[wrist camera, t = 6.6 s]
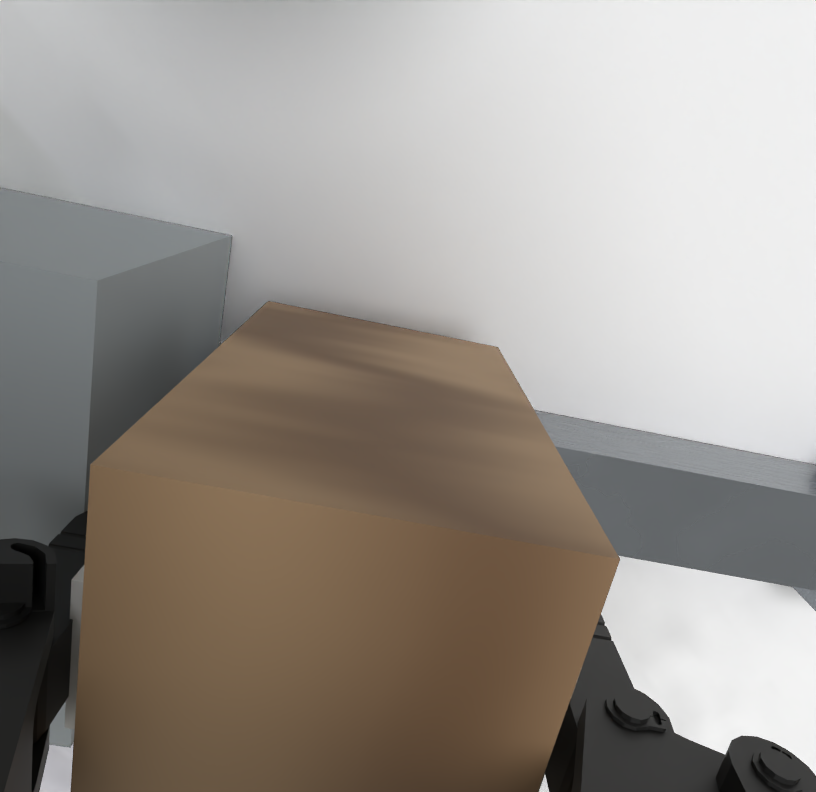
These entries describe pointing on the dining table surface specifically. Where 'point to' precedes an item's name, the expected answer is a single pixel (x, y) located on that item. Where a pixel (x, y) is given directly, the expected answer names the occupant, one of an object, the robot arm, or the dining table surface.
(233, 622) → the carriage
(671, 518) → the rail
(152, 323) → the grey block with hole
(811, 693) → the dining table surface
